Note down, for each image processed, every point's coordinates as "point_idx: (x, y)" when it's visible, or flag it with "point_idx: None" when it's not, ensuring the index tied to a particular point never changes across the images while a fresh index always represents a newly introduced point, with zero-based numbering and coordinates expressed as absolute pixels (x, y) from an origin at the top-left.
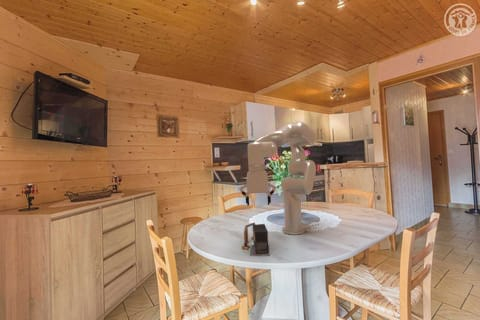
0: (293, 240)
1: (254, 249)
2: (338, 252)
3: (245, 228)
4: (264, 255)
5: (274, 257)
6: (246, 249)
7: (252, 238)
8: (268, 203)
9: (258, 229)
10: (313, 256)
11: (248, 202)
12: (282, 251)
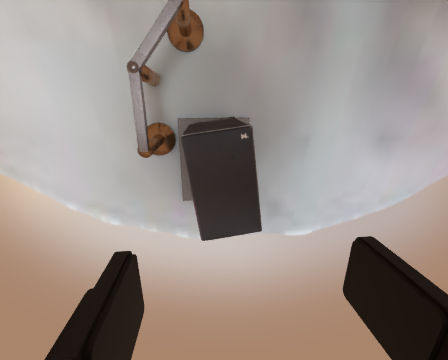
0: (348, 62)
1: None
2: (442, 167)
3: (138, 120)
4: None
5: None
6: (164, 153)
7: (174, 43)
8: (357, 308)
9: (219, 217)
10: (366, 195)
11: (132, 342)
12: (287, 165)
